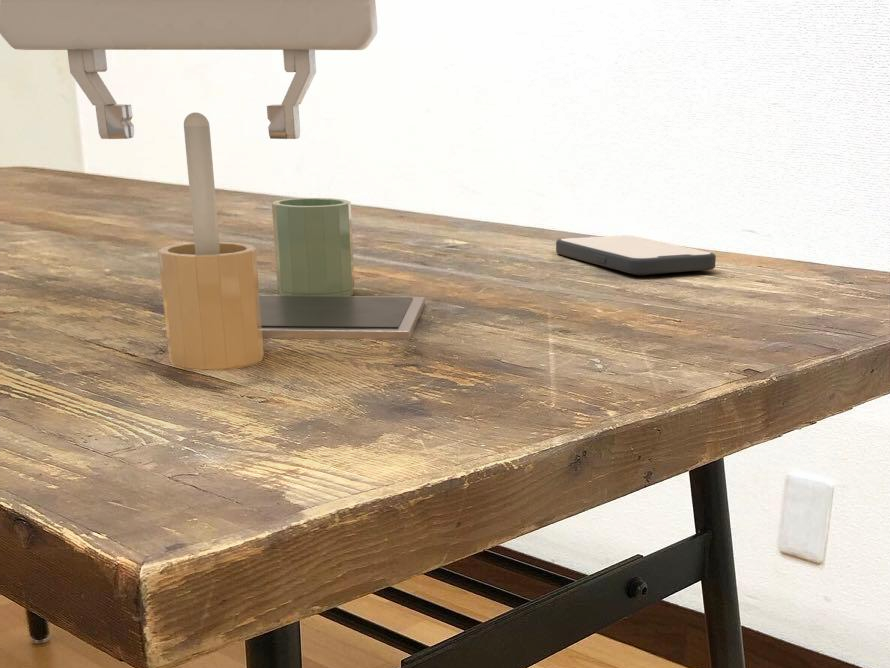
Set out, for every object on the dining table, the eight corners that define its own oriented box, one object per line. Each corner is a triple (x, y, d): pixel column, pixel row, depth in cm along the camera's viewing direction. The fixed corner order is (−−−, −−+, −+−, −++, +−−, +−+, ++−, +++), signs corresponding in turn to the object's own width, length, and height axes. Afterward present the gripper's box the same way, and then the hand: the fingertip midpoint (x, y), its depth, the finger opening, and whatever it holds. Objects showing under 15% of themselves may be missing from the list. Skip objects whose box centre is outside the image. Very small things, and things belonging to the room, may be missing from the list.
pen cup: (272, 300, 94) (265, 206, 91) (286, 287, 99) (280, 197, 97) (348, 301, 94) (343, 207, 91) (358, 287, 99) (354, 198, 97)
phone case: (550, 255, 118) (633, 279, 104) (550, 238, 117) (634, 259, 104) (631, 251, 121) (721, 272, 108) (631, 234, 121) (722, 254, 107)
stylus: (202, 361, 73) (179, 112, 68) (208, 355, 75) (186, 111, 70) (225, 361, 74) (204, 113, 68) (231, 356, 75) (211, 112, 70)
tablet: (162, 343, 80) (160, 327, 79) (208, 308, 91) (206, 293, 91) (409, 346, 80) (409, 329, 80) (425, 310, 91) (424, 295, 91)
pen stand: (159, 377, 72) (146, 255, 69) (184, 355, 77) (173, 241, 74) (252, 378, 72) (243, 256, 69) (271, 356, 77) (263, 242, 74)
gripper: (381, -131, 67) (392, 135, 72) (5, -132, 67) (43, 135, 72) (366, -149, 61) (379, 142, 67) (-45, -149, 61) (-1, 142, 66)
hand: (201, 138), depth 69 cm, fingers open, 8 cm apart
